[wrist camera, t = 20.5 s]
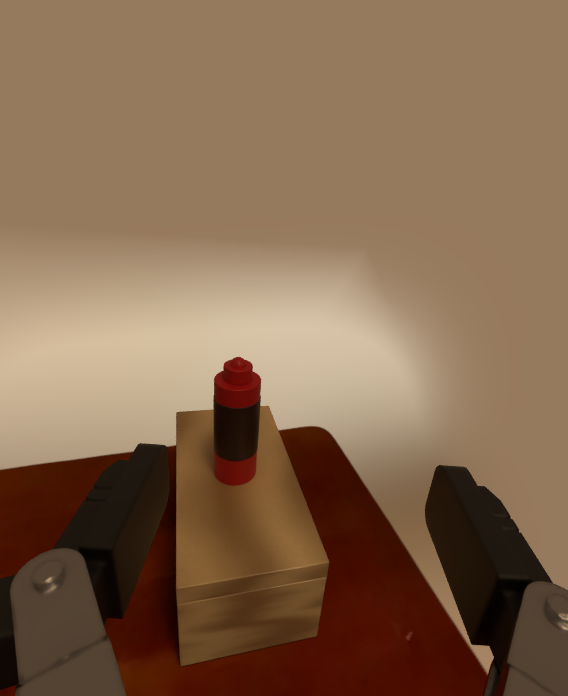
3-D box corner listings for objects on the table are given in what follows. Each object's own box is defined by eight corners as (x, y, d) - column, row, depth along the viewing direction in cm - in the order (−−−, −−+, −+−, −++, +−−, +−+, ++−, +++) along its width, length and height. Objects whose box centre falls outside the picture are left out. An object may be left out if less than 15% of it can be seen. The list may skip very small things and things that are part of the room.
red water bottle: (231, 451, 37) (234, 344, 32) (264, 467, 35) (272, 356, 31) (204, 474, 34) (203, 359, 29) (239, 492, 32) (243, 373, 28)
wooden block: (265, 462, 48) (268, 405, 44) (317, 636, 30) (329, 562, 27) (178, 471, 45) (176, 411, 42) (180, 667, 27) (176, 589, 24)
